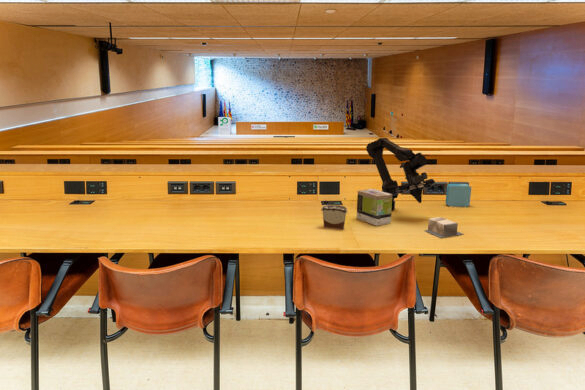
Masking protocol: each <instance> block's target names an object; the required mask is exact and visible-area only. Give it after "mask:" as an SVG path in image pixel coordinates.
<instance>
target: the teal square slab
mask: <svg viewBox="0 0 585 390" xmlns="http://www.w3.org/2000/svg"><path fill="white" fill-rule="evenodd" d="M445 193H446V194H445V204H446V205H447V206H448V207H450V206H452V208H453V207H457V208H468V207H469V206H470V204H471V196H472V186H471V185H469V184H468V183H448V184H447V186H446V192H445Z"/></svg>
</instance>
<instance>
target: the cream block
mask: <svg viewBox="0 0 585 390" xmlns="http://www.w3.org/2000/svg"><path fill="white" fill-rule="evenodd" d="M458 225H459V224H458V222H455V221H453V220H450V219H447V218H445V217H443V216H439V217H438V216H437V217H432V218H431V217H430V218H428V225H427V230H432V231H434V232H436V233H439V234H441V235H443V236H448V235H454V234H457V231H458Z"/></svg>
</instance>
